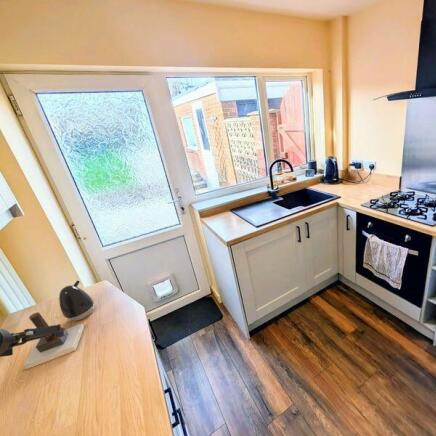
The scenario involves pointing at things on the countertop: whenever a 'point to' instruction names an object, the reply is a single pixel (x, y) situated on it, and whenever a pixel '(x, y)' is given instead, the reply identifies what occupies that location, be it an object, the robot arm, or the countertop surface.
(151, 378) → the countertop surface
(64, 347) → the tile
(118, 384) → the countertop surface
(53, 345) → the brown peg on base
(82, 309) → the black pear
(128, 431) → the countertop surface
